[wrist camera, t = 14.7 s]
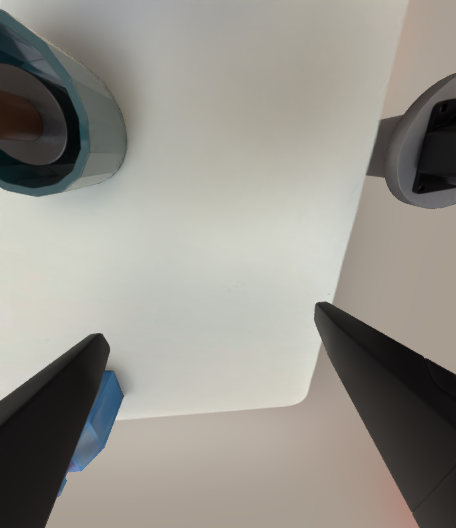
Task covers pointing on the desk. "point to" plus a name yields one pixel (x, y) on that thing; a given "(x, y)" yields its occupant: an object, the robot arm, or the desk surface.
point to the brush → (36, 119)
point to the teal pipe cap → (86, 106)
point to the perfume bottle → (97, 424)
